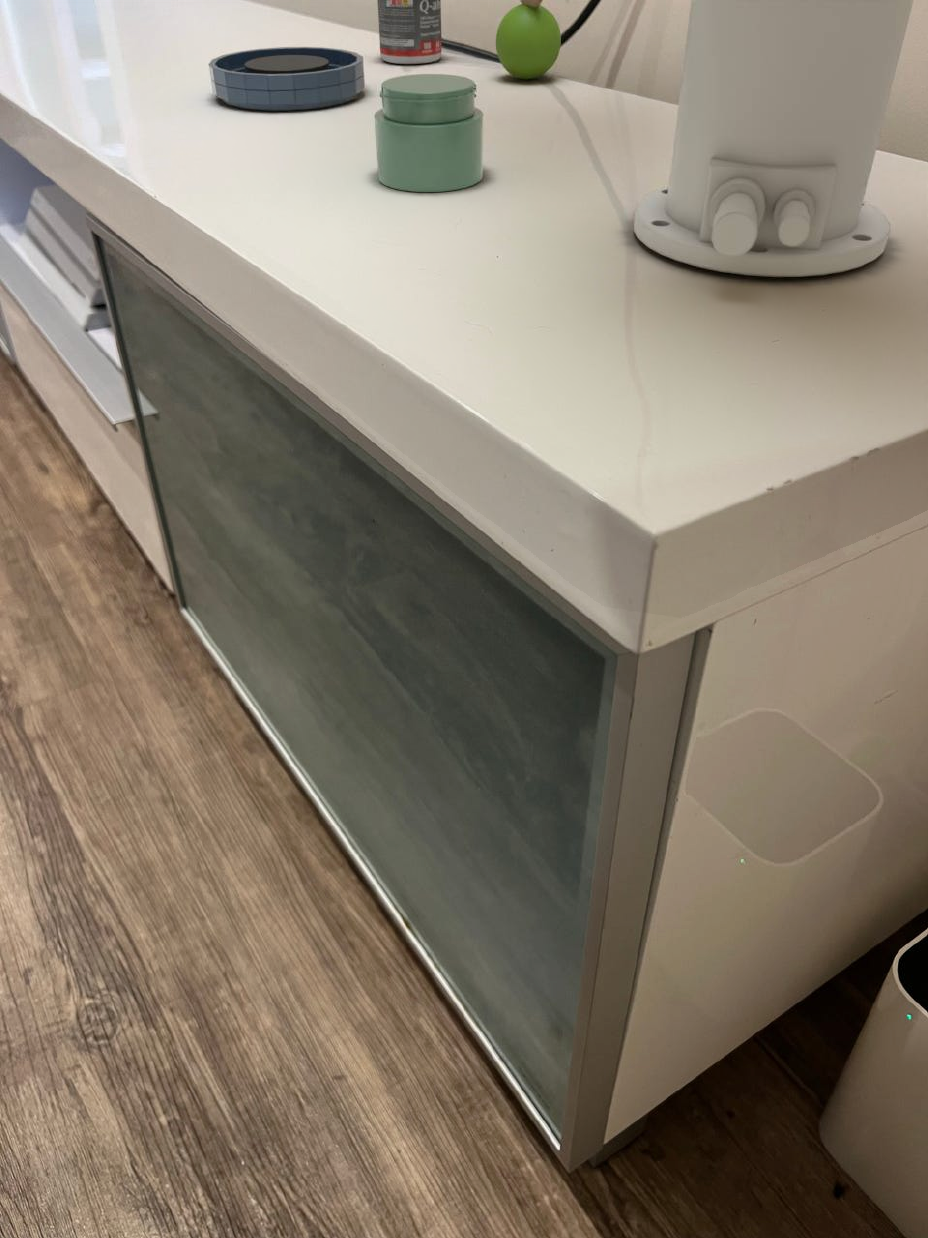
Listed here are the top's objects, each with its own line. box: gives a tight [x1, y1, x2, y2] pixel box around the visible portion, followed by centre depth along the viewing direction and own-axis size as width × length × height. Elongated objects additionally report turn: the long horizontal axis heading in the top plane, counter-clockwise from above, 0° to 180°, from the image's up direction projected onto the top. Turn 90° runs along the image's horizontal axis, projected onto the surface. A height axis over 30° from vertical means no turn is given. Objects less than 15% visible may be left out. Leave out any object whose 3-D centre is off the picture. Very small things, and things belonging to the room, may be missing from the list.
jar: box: [374, 73, 484, 193], centre depth 56 cm, size 6×6×5 cm
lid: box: [245, 55, 329, 74], centre depth 75 cm, size 7×7×2 cm
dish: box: [208, 46, 366, 112], centre depth 75 cm, size 12×12×2 cm
